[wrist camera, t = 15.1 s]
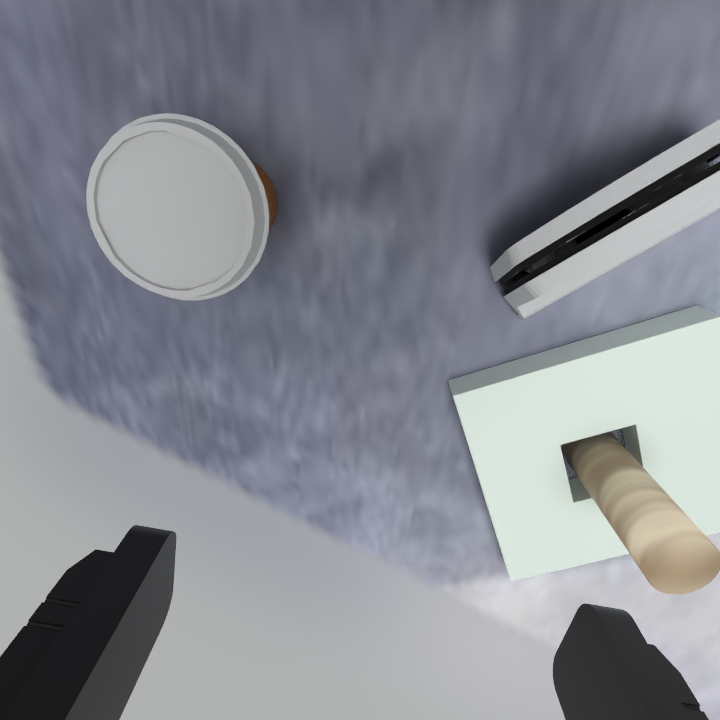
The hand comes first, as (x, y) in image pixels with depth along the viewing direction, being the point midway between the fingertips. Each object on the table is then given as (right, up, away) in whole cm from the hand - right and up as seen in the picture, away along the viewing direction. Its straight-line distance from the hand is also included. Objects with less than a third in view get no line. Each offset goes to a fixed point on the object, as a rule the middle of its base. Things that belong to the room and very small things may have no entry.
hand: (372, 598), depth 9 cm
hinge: (+17, +15, +26) cm, 35 cm away
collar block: (+20, -3, +33) cm, 38 cm away
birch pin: (+20, -3, +33) cm, 38 cm away
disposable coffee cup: (-10, +16, +26) cm, 32 cm away
